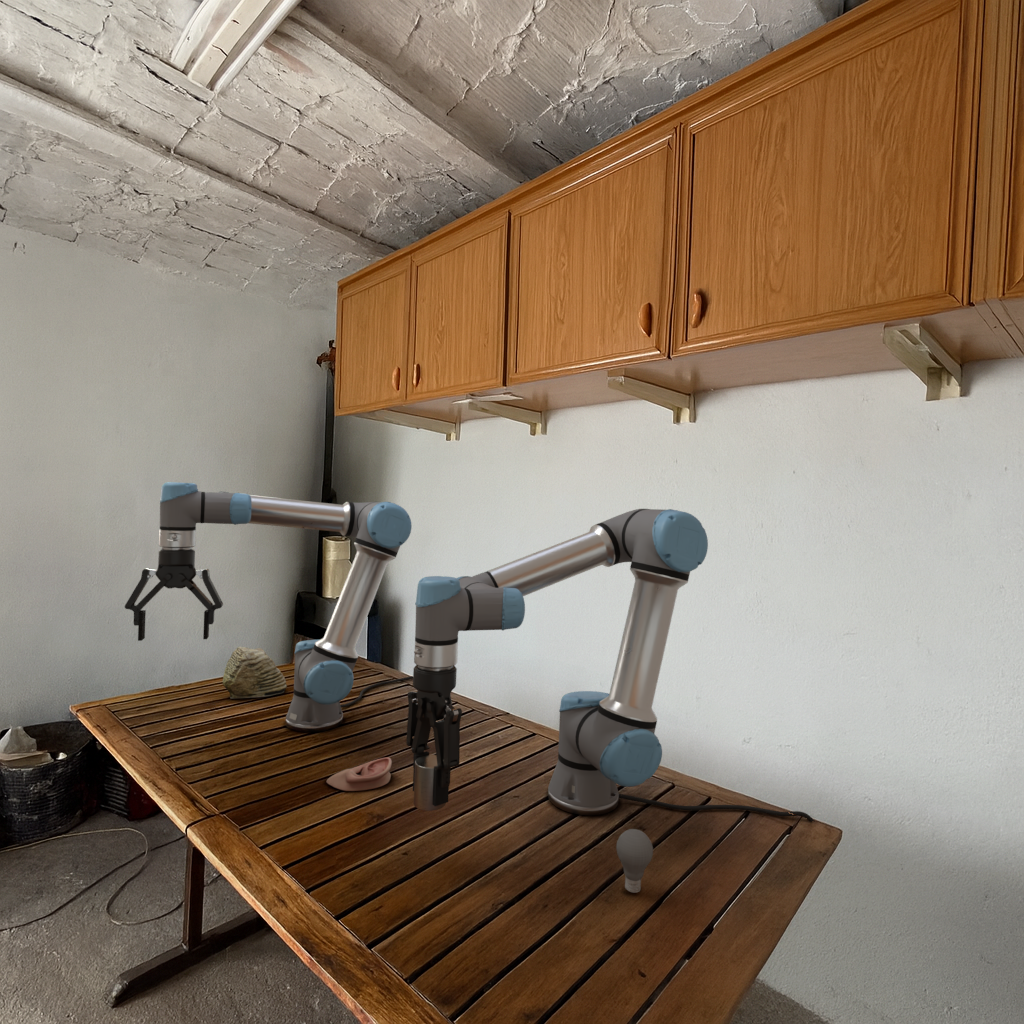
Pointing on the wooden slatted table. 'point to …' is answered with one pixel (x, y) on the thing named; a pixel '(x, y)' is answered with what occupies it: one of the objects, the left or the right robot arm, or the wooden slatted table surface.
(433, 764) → the canister
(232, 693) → the fossil
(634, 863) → the light bulb
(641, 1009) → the wooden slatted table surface
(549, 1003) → the wooden slatted table surface
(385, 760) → the anatomical model
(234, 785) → the wooden slatted table surface
